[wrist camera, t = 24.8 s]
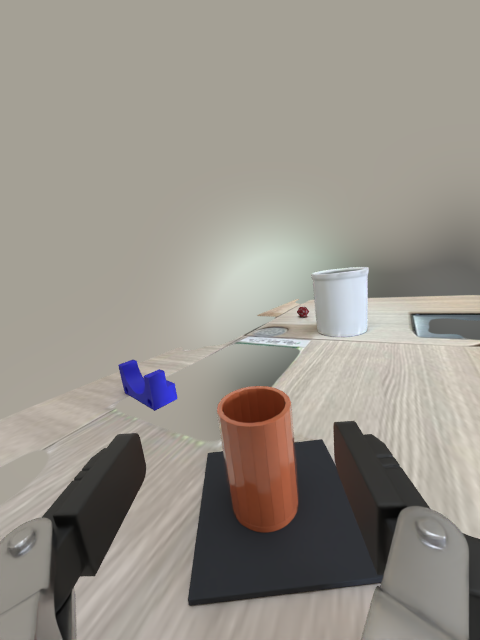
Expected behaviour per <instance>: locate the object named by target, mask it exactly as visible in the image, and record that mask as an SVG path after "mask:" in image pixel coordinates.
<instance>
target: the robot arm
mask: <svg viewBox="0 0 480 640" xmlns="http://www.w3.org/2000/svg"><path fill="white" fill-rule="evenodd" d="M334 455H335V463H336V468H337V471H338V475H339V477H340V480H341V482H342V485H343V488H344V490H345V493H346V495H347V498H348V500H349V503H350V506H351V508H352V511H353V513H354V516H355V519H356V521H357V524H358V526H359V529H360V531H361V534H362V537H363V539H364V542H365V544H366V547H367V550H368V552H369V555H370V557H371V560H372V562H373V565H374V568H375V570H376V573H377V575H384V576H383V580H382V583H381V586H380V587H379V586H377V587H376V589H375V591H374V594H373V598H372V601H371V605H370V609H369V612H368V616H367V620H366V623H365V627H364V631H363V635H362V638H361V640H480V539H478V538H474V537H471V536H468V535H466V534H463V533H462V532H461V531H460V530H459V529H458V527H457V526H456V525H455V524H454V523H452V522H451V521H450V520H449V519H448V518H446V517H445V516H443V515H442V514H440V513H438V512H436V511H434V510H431V509H430V508H429V506H428V505H427V503H426V502H425V501H424V499H423V498H422V496H421V495H420V493H419V492H418V491H417V489H416V488H415V486H414V485H413V484H412V482H411V481H410V479H409V478H408V476H407V475H406V474H405V472H404V471H403V469H402V468H400V466H399V464H398V462H397V461H396V459H395V458H394V457H393V455H392V454H391V452H390V451H389V449H388V448H387V447H386V445H385V444H384V443H383V442H382V441H380V440H379V439H378V438H376V437H375V436H374V435H372V434H367V435H363V434H362V432H361V430H360V429H359V427H358V425H357V424H356V422H355V421H345V422H334ZM145 474H146V463H145V458H144V454H143V449H142V445H141V440H140V437H139V435H138V434H137V433H132V434H119V435H117V436H116V437H115V438H114V439H113V441H112V442H111V443H110V444H109V446H108V447H107V448H104V449H103V450H101V451H100V452H99V453H97V454H96V455H95V456H93V457H92V458H91V459H90V460H89V462H88V463H87V464H86V465H85V466H84V468H83V469H82V471H80V472H79V474H78V475H77V476H76V477H75V478H74V481H72V482H71V483H70V484H69V485H68V487H67V488H66V489H65V490H64V491H63V493H62V494H61V495H60V496H59V497H58V499H57V500H56V501H55V502H54V503H53V505H52V506H51V507H50V508H49V509H48V511H47V512H46V513H45V514H44V515H43V517H42V518H37V519H33V520H31V521H28V522H26V523H24V524H22V525H21V526H19V527H17V528H16V529H14V530H13V531H12V532H10V533H9V534H8V535H7V536H6V537H5V538H4V539H3V540H2V541H1V542H0V640H76V595H75V590H74V586H75V584H76V582H77V580H78V579H79V577H80V576H95V575H96V573H97V571H98V569H99V567H100V565H101V563H102V561H103V559H104V557H105V555H106V554H107V552H108V550H109V548H110V546H111V544H112V542H113V540H114V538H115V536H116V534H117V532H118V530H119V528H120V526H121V524H122V522H123V520H124V518H125V516H126V514H127V512H128V511H129V509H130V507H131V505H132V503H133V501H134V499H135V497H136V495H137V493H138V491H139V489H140V487H141V485H142V483H143V481H144V478H145Z"/></svg>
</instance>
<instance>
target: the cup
mask: <svg viewBox="0 0 480 640" xmlns="http://www.w3.org/2000/svg"><path fill="white" fill-rule="evenodd" d="M217 414H218V421H219V427H220V433H221V441H222V447H223V454H224V460H225V467H226V474H227V480H228V487H229V493H230V500H231V504H232V510H233V512H234V515H235V517H236V518H237V519H238V521H239V522H240V523H241V524H242V525H243V526H245V527H246V528H248V529H250V530H253V531H256V532H263V533H267V532H274V531H277V530H279V529H282V528H283V527H285V526H286V525H288V524H289V523H290V522H291V521H292V519H293V518H294V516H295V515H296V512H297V510H298V505H299V498H298V495H299V493H298V481H297V469H296V457H295V445H294V433H293V421H292V409H291V401H290V399H289V397H288V396H287V395H286V394H285V393H284V392H283V391H280V390H278V389H276V388H272V387H267V386H252V387H245V388H242V389H238V390H235V391H233V392H231V393H229V394H228V395H226V396H225V397H224V398H222V399H221V401H220V402H219V404H218V407H217Z"/></svg>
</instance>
